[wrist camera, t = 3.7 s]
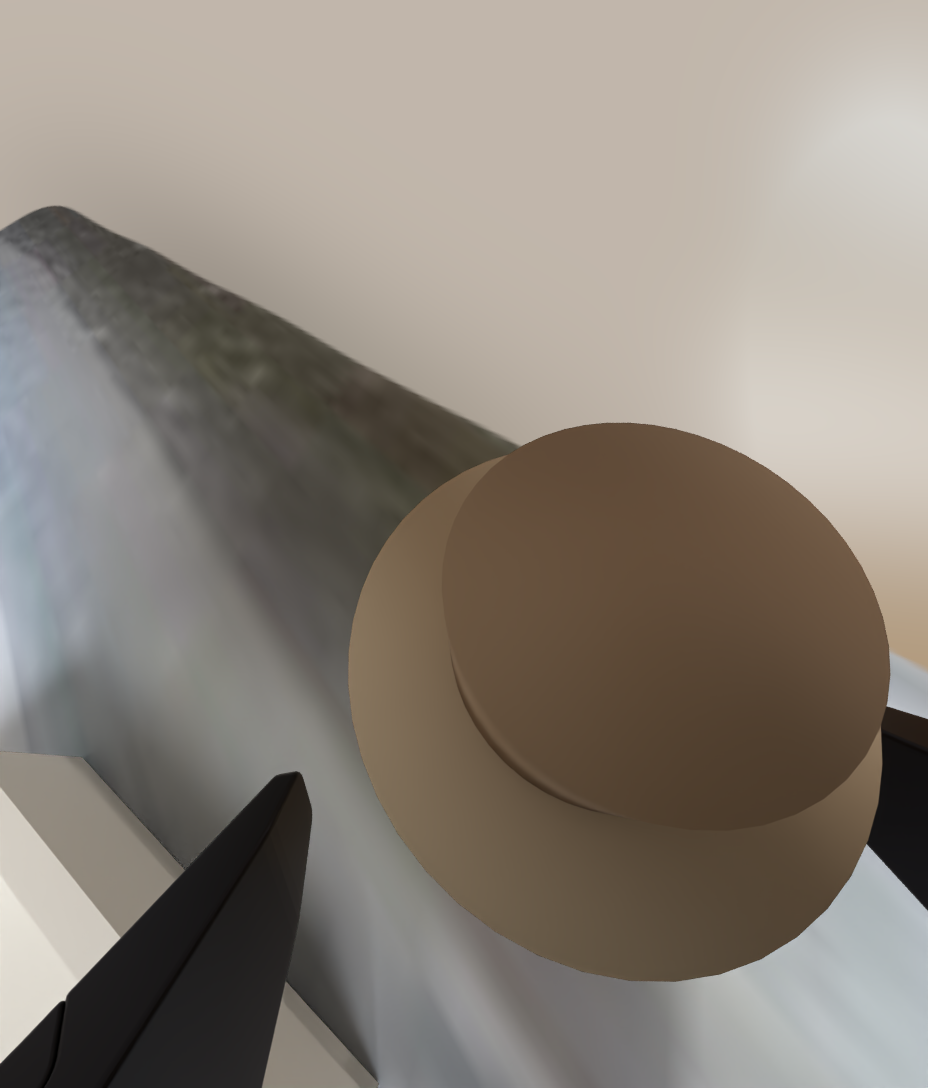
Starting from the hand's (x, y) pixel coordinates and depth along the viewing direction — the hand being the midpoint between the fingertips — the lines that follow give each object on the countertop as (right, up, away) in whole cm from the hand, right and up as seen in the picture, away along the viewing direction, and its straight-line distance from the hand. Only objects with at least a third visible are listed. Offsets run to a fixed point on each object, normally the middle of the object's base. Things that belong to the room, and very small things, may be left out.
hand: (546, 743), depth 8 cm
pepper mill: (0, -4, +8) cm, 8 cm away
